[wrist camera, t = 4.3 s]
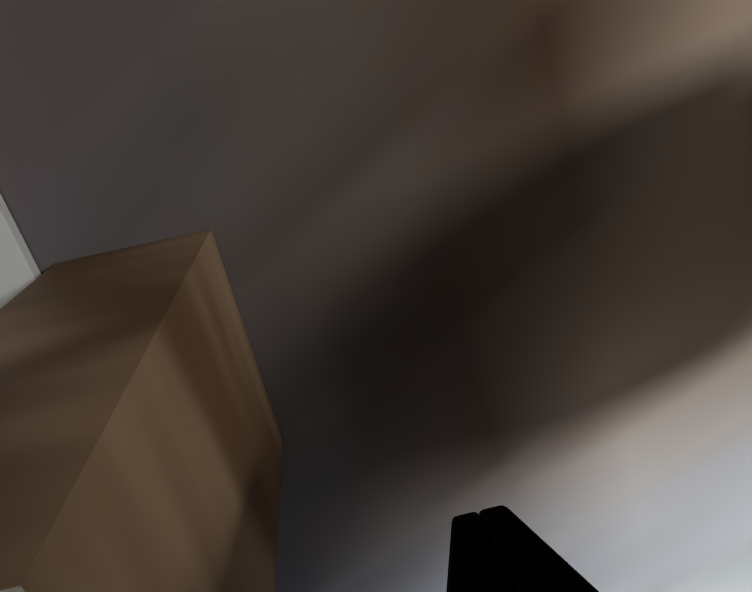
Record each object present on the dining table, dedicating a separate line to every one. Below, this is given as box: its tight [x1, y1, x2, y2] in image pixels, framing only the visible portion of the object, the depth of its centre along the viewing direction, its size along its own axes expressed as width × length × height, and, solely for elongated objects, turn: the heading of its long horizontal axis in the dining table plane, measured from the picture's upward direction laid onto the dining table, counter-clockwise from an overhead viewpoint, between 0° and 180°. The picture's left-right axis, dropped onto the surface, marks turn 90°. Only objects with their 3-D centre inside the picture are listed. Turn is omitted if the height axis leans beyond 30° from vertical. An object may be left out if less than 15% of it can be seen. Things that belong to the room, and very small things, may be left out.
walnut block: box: [0, 229, 283, 592], centre depth 10 cm, size 4×7×12 cm, turn 11°
